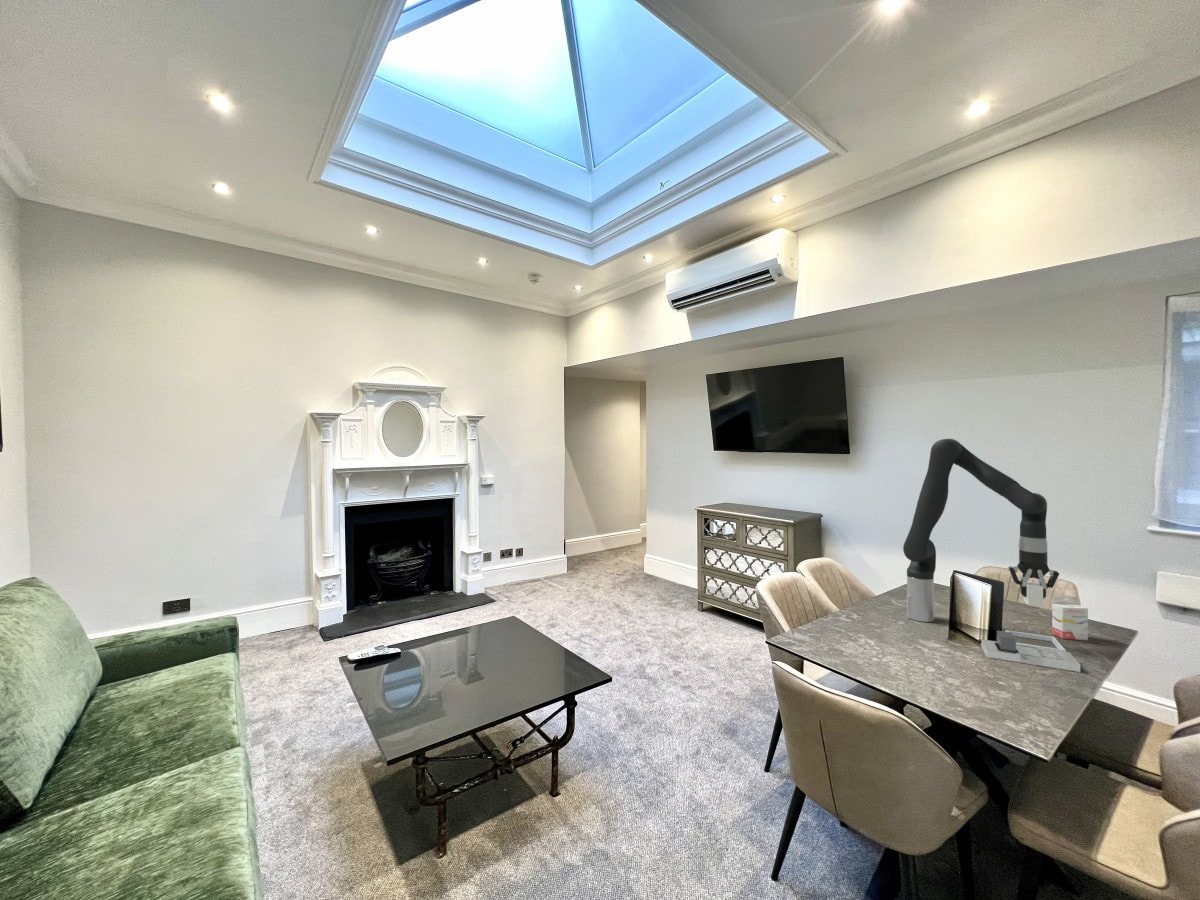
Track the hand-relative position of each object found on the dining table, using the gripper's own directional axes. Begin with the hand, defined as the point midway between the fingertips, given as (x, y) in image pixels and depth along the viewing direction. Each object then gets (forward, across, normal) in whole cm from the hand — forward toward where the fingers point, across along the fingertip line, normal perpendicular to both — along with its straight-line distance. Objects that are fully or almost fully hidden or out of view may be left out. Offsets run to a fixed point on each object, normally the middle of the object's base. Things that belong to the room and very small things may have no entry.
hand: (1033, 597), depth 171 cm
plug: (+2, 0, 0) cm, 2 cm away
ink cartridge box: (+17, +13, +14) cm, 26 cm away
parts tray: (+17, 0, 0) cm, 17 cm away
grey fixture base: (+17, -5, -16) cm, 24 cm away
